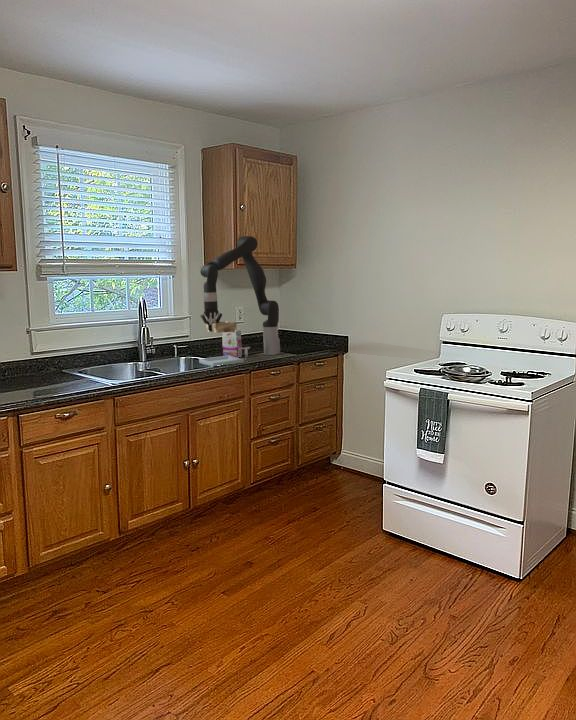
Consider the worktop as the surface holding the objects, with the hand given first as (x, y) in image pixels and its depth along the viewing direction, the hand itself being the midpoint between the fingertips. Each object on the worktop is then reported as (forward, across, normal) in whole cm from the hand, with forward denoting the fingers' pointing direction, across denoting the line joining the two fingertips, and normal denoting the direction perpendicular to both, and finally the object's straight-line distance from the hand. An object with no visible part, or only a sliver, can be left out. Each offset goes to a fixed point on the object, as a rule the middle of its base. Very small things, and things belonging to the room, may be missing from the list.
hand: (212, 331), depth 344 cm
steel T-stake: (+19, +23, +3) cm, 30 cm away
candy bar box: (+19, +20, +15) cm, 31 cm away
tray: (+19, +5, 0) cm, 20 cm away
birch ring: (+1, +6, 0) cm, 6 cm away
